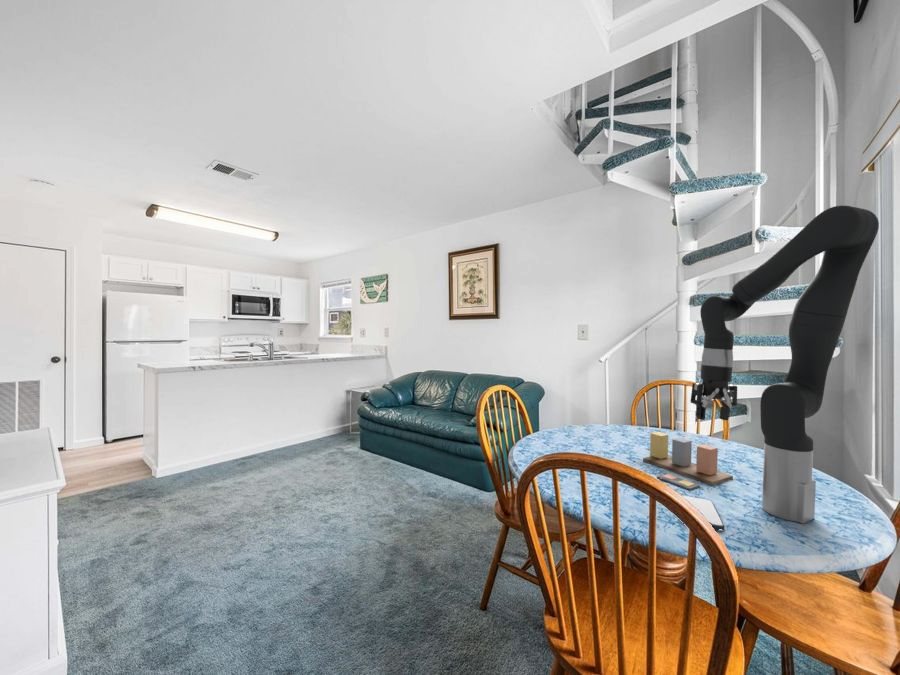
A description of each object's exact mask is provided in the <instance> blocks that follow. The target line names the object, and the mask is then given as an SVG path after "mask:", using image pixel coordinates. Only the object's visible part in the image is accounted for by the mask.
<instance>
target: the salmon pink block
mask: <svg viewBox="0 0 900 675" xmlns="http://www.w3.org/2000/svg"><path fill="white" fill-rule="evenodd" d="M718 451H719V450H718V447H716V446H711V445H709V444H705V443H704V444H701V445H700V444H699V445H697V446H696V463H695V464H696V471H698V472H701V473H704V474H707V475H713V474H716V473H717V471H718Z"/></svg>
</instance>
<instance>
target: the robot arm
mask: <svg viewBox="0 0 900 675" xmlns="http://www.w3.org/2000/svg"><path fill="white" fill-rule="evenodd" d="M879 224H880V223H879V218H878V217H877V215H876V214H875V213H874V212H872V211H871V210H868V209H865V208H861V207H857V206H851V205H836V206H832V207H829V208H827V209H825V210H823V211H821V212H820V213H819V214H818V215H816V216H815V217H813V219H812V220H810V222H808V223H807V225H805V226H804V227H803V228H802V229H801V230H799V232H798V233H797V234H795V236H793V238H791V239H790V240H789V241H787V243H786V244H785V245H783V246H782V248H780V249H779V250H778V251H776V253H775V254H773V255H772V256H771V257H770V258H768V259H767V260H766V261H764V262H763V263H762V264H761V265H759V266H758V267H757V268H755V269H754V270H752V271H750V272H749V273H748V274H746V275H745V276H743V277H742V278H741V279H739V280H738V281H737V282H735V283H734V284H733V286H732V288H731V291H732V293H731V294H730V295H729V296H722V295H721V296H720V295H711V296H709V297H706V299H705V300H704V301H703V302H702V303H701V307H700V318H701V325H702V329H703V332H704V340H703V351H702V355H701V364H700V365H701V366H700V375H699V376H700V378H699V379H701V380H702V382H701V383H697V382H693V383H692V387H691V394H690V404H694V405H695V406H696V410H695V417H696V419H698V420H701V421H705V420H706V414H707V413H706V412H707V411H706V410H707V408H706V406H707V405H708V403H710V402H712V400H717V401H718V402H719V404H720V407H719V409H720V411H719V419H720V420H722V421H729V419H730V414H731V412H730V410H731V408H732V407H733V406H735V407H736V406H737V404H738V386H737V385H734V384H729V383H731V382H732V377H733V366H734V352H733V351H734V331H732V330H731V329H728V328H727V326H726V322H731V321H734V320H737V319H739V318H740V317H741V316H743V315H744V314H745V313H747V311H748V310H749V309H750V308H751V307H752V306H753V305H754V304H755V303H756V302H758V301H759V300H761V299H762V298H764V297H765V296H768V294H770V293H772V292H774V291H775V290H776V289H778V288H779V287H781V286H782V285H783V283H785V282H786V281H787V280H788V279H789V277H790V276H792V274H793V273H794V272H795V271H796V270H797V269H798V268H799V267H801V266H802V265H803V264H805V263H806V262H808V261H809V260H810V259H812V258H814V257H815V256H818V255H820V254H822V253H823V255H822V259H821V263H820V266H819V269H818V271H817V272H816V275H815V276H814V277H813V278H812V280H811V281H810V283H809V284H808V285H807V287H806V288H805V289H804V290H803V292H802V293H800V294H801V295H800V296H799V297H798V300H797V301H796V302H795V306H794V308H793V312H792V314H791V318H790V321H789V326H788V340H789V347H790V352H791V362H790V365H789V369H788V372H787V375H786V378H785V380H784V382H780V383H773V384H770V385H769V386H767V387H765V389H764V390H763V391H762V393H761V398H760V407H759V408H760V410H759V411H760V429H761V432H762V434H763V439H764V444H763V447H764V449H763V470H762V474H763V475H762V499H761V502H762V504H761V507H762V510H764V511H765V512H766V513H768V514H770V515H772V516H775V517H777V518H779V519H784V520H787V521H792V522H797V523H800V524H806V523H808V522H810V521H811V520H813V519H815V513H816V512H815V510H816V509H815V508H816V491H817V490H816V488H817V485H816V482H817V481H816V480H815V479H813V467H814V466H813V462H814V461H813V460H814V439H813V438H812V437H811V436H810V435H807V432H806V419H808V418H811V417H812V416H815V414H817V413H818V412H819V411H820V409H821V407H822V404H823V398H824V392H825V386H826V381H827V376H828V371H829V368H830V365H831V361H832V359H833V357H834V354H835V350H836V348H837V345H838V342H839V338H840V336H841V333H842V330H843V327H844V324H845V321H846V318H847V315H848V312H849V307H850V305H851V301H852V297H853V295H854V291H855V288H856V284H857V280H858V277H859V275H860V272H861V269H862V266H863V264H864V263H865V261H866V258H867V256H868V254H869V252H870V249H871V247H872V245H873V244H874V241H875V238H876V236H877V235H878V232H879V228H880V225H879ZM731 399H732V400H731Z"/></svg>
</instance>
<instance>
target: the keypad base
mask: <svg viewBox="0 0 900 675" xmlns="http://www.w3.org/2000/svg"><path fill="white" fill-rule="evenodd" d="M642 461H643V462H646V463H649V464H651V463H652V465H655V466H657V467H659V466H660V468H662V467H663V468H662V469H665V468H666V470H668V469H669V471H671V472H674V473H677V474H679V475H682V476H686V477H688V478H691V479H693V480H696V481H699V482H702V483H704V484H705V483H706V484H708V485H711V486H716V485H718V484H721V483H726V482H728V481H731V480H734V476H733V475H731V474H728V473H725V472H722V471H720V470H719V471H718V470H717V473H716V474H713V475H707V474H704V473H701V472H698V471H696V463H693V462H691V465H688V466H685V467H683V466H680V465H677V464H674V463H672V455H669V454H668V457H667V458H663V459H659V458H656V457H653V456H650V455H649V456H645V457H642Z"/></svg>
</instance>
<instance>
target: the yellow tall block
mask: <svg viewBox="0 0 900 675" xmlns="http://www.w3.org/2000/svg"><path fill="white" fill-rule="evenodd" d="M649 442H650V443H649V445H650V446H649V456H653V457H656V458H659V459H663V458H667V457H668V455H669V434H667V433H663V432H660V431H655V432H651V433H650V439H649Z"/></svg>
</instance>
